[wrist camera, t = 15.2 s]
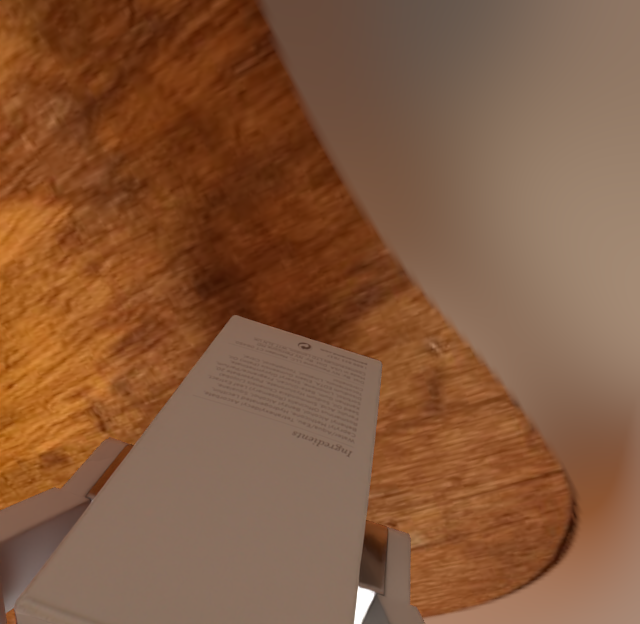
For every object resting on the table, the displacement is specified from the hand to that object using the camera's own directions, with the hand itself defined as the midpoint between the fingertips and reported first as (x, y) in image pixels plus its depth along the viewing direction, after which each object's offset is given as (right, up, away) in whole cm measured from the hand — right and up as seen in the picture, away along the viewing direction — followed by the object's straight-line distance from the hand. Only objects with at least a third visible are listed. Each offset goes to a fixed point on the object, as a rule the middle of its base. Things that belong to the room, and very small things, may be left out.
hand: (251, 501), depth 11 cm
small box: (+1, +1, +3) cm, 3 cm away
